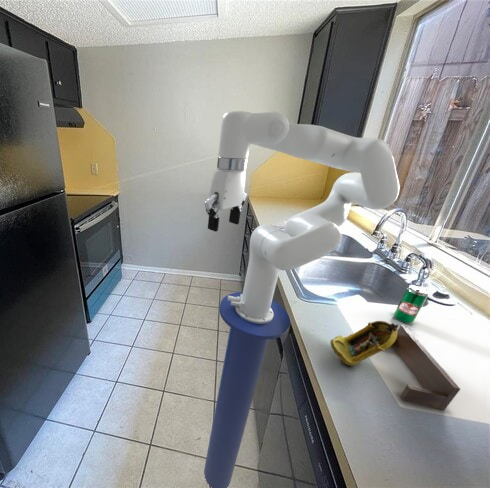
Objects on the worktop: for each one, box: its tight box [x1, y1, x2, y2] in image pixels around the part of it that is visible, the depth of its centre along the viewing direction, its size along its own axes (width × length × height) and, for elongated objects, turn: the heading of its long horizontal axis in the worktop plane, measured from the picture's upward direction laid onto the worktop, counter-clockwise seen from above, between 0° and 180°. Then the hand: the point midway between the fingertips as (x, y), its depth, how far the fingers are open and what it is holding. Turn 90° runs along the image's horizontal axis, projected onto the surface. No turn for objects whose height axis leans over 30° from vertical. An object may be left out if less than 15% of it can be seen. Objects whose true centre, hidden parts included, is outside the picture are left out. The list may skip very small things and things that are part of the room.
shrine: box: [329, 320, 399, 368], centre depth 66 cm, size 12×8×15 cm
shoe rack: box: [390, 324, 461, 411], centre depth 66 cm, size 8×20×7 cm, turn 166°
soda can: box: [393, 284, 429, 324], centre depth 83 cm, size 5×5×12 cm
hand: (223, 226), depth 74 cm, fingers open, 9 cm apart
